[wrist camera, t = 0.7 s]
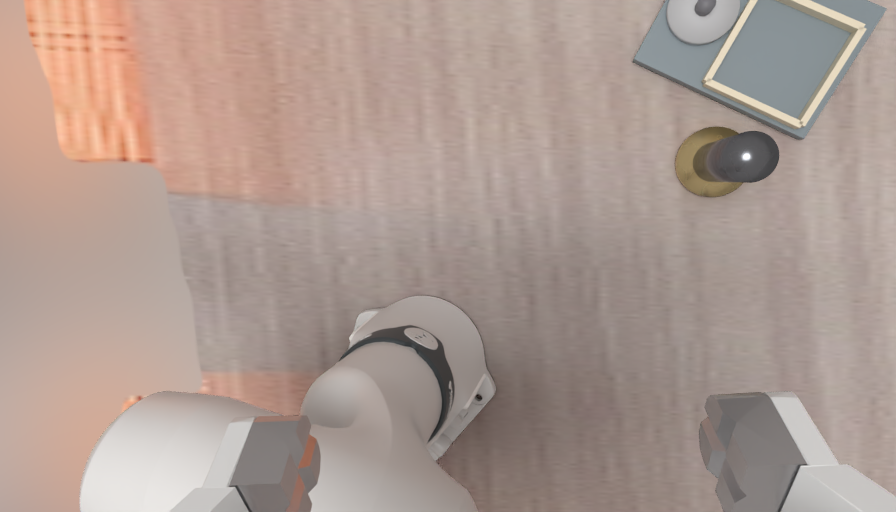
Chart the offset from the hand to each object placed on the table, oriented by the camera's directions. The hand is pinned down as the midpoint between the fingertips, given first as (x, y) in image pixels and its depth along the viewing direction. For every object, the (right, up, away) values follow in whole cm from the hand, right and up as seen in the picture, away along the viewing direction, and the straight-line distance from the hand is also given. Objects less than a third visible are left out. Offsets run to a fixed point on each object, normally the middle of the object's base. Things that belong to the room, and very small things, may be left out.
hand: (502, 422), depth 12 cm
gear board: (+29, +25, +44) cm, 58 cm away
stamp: (+26, +13, +46) cm, 55 cm away
